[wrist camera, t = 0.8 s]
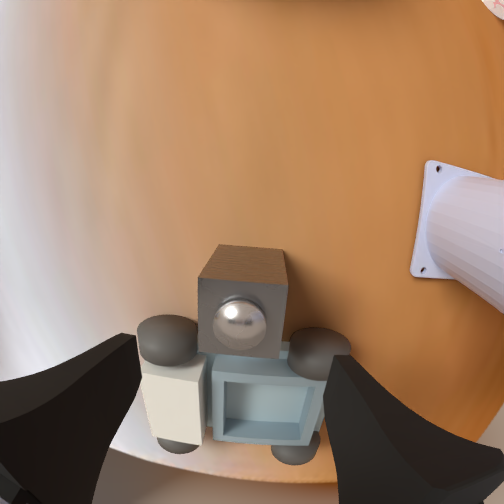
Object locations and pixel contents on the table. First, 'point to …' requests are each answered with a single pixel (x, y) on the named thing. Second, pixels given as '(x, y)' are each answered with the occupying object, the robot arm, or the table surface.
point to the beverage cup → (495, 7)
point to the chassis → (235, 390)
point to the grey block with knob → (242, 302)
